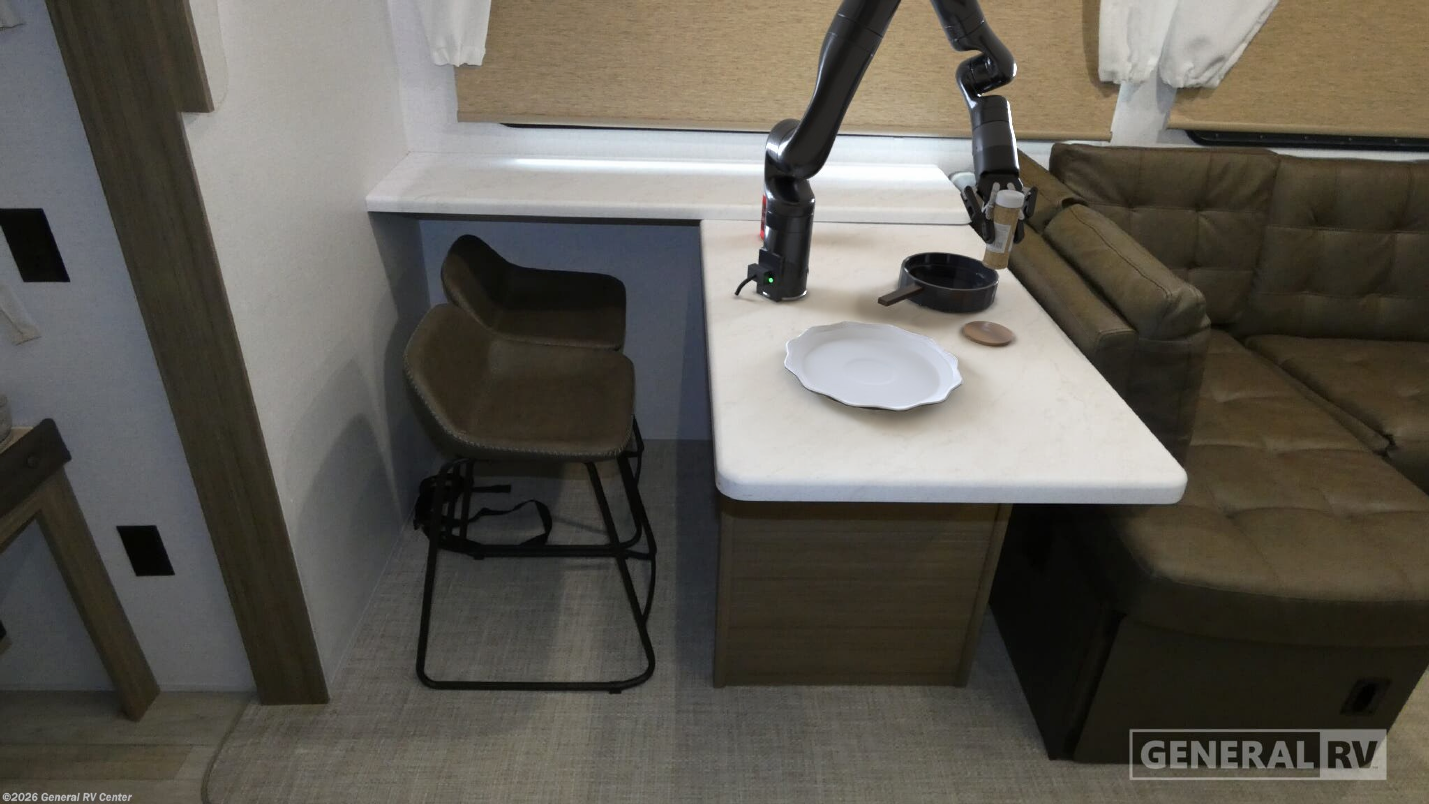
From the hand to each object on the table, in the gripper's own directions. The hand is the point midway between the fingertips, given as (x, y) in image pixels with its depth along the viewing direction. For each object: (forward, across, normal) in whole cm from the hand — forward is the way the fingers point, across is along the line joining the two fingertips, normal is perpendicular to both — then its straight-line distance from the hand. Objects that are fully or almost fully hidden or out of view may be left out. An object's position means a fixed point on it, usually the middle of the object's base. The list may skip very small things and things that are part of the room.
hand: (1004, 241), depth 147 cm
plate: (+23, -26, +2) cm, 35 cm away
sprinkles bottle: (+2, 0, +5) cm, 6 cm away
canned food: (-20, -32, +46) cm, 60 cm away
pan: (+1, -2, +24) cm, 25 cm away
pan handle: (+5, -14, +16) cm, 22 cm away
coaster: (+13, 0, +12) cm, 18 cm away
